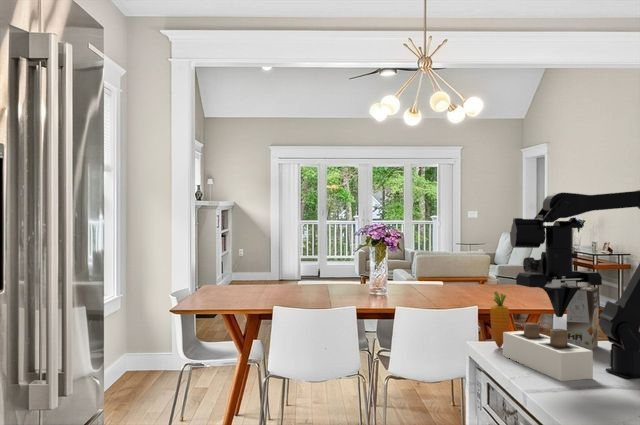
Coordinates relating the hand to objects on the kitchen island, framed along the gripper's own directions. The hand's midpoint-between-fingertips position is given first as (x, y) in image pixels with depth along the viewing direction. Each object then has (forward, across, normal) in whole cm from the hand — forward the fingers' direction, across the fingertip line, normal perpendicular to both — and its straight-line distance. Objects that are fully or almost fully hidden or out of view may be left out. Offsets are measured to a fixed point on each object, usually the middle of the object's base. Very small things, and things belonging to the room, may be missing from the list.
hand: (559, 316), depth 126 cm
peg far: (+10, 0, -10) cm, 14 cm away
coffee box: (+13, -22, -19) cm, 32 cm away
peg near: (+9, 0, 0) cm, 9 cm away
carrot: (+13, 0, -24) cm, 27 cm away
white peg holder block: (+12, 0, -5) cm, 13 cm away
